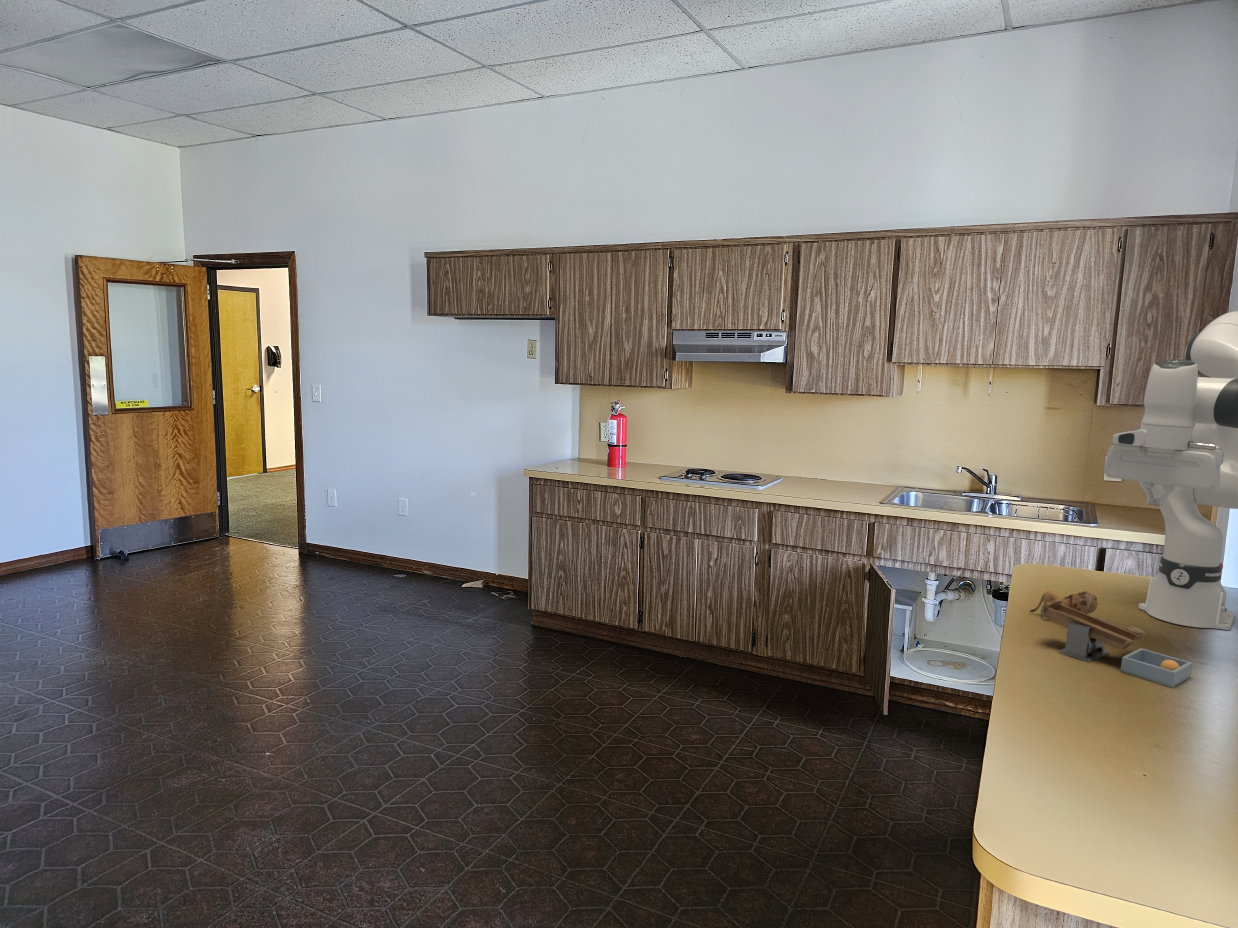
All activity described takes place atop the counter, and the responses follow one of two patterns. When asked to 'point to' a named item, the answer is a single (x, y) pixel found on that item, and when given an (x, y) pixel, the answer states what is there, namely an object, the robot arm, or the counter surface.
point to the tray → (1155, 667)
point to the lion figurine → (1071, 601)
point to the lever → (1093, 625)
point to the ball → (1169, 665)
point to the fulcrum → (1083, 643)
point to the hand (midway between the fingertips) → (1155, 505)
